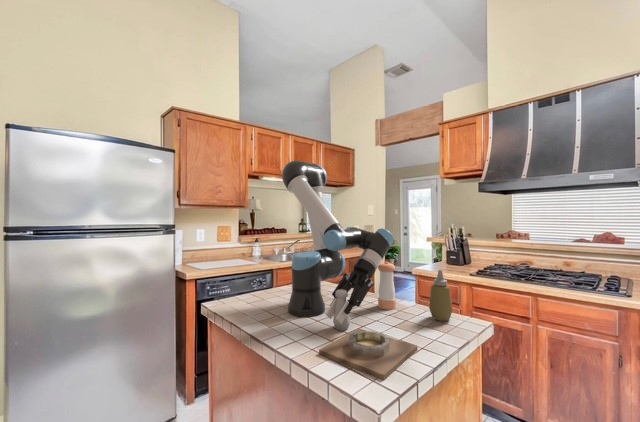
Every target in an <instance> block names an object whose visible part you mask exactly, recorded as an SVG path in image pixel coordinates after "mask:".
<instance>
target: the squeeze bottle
mask: <svg viewBox="0 0 640 422" xmlns="http://www.w3.org/2000/svg"><path fill="white" fill-rule="evenodd" d="M430 287H431V288H430V296H429V304H428V305H429V306H428V308H429V312H430V314H431V317H432V319H433V320H436V321H439V322H447V321H450V319H451V315H452V314H453V304H452V294H451V288H450V286H449V285H448V280H447V279H445V277H444V273H443V269H439V270H438V272H437V276H436V278H434V279H433V284H432V285H431V286H430Z"/></svg>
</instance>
